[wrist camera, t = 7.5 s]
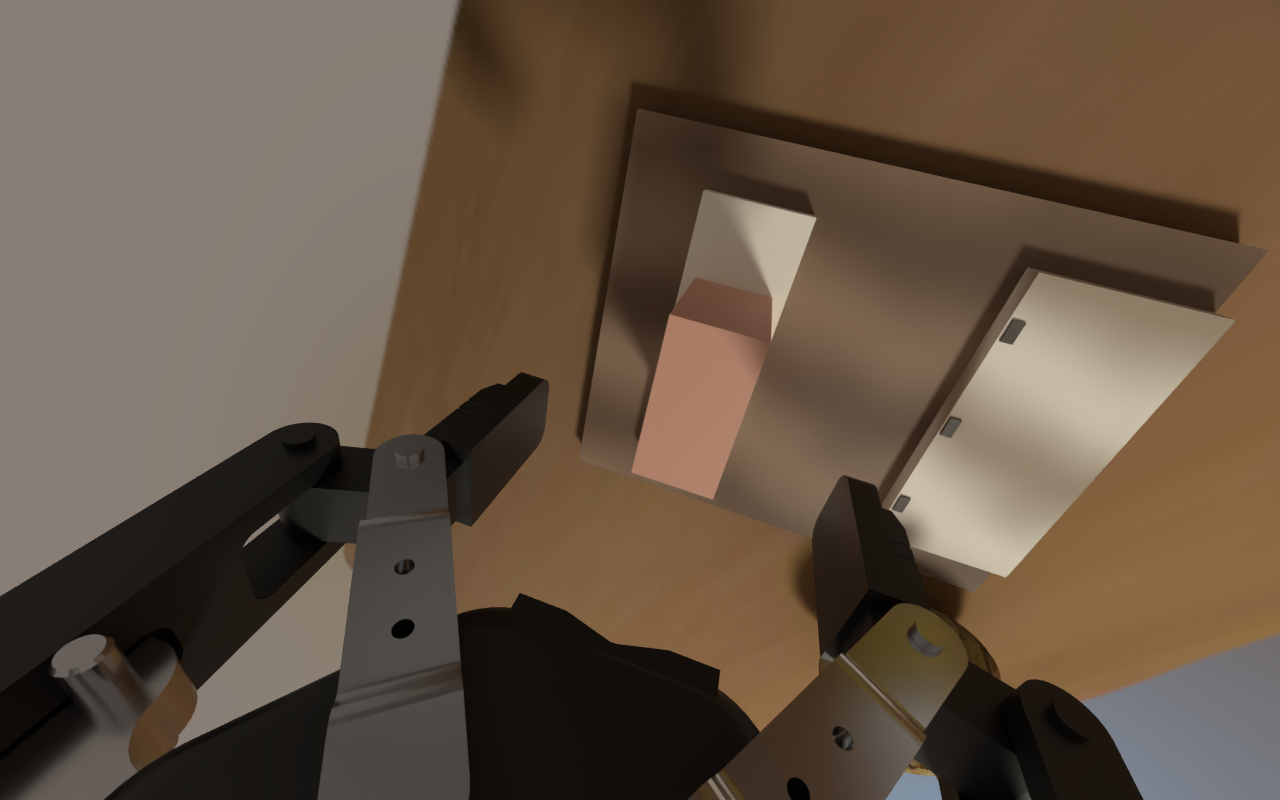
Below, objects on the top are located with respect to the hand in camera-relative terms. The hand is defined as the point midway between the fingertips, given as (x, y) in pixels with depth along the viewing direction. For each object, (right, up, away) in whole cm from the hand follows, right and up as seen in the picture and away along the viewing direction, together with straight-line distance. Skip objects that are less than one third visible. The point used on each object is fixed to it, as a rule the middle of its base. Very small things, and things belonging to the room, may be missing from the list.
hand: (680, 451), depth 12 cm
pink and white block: (+2, +3, +7) cm, 8 cm away
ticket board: (+7, +3, +8) cm, 11 cm away
